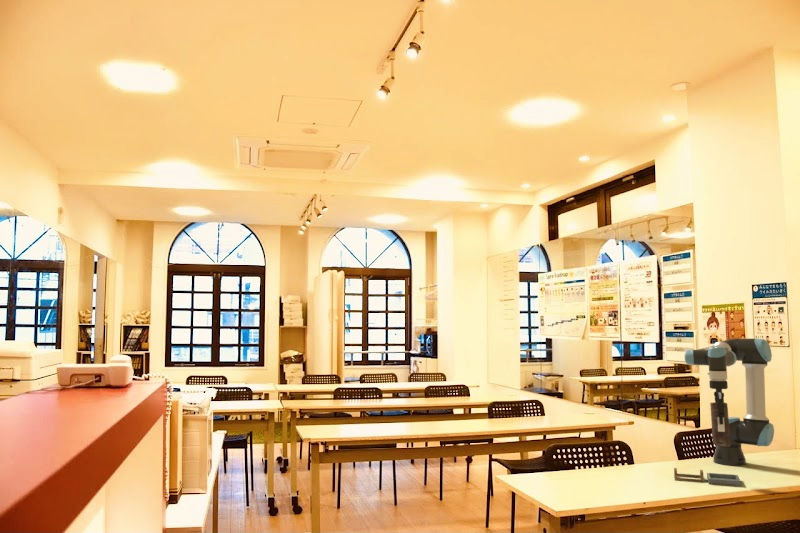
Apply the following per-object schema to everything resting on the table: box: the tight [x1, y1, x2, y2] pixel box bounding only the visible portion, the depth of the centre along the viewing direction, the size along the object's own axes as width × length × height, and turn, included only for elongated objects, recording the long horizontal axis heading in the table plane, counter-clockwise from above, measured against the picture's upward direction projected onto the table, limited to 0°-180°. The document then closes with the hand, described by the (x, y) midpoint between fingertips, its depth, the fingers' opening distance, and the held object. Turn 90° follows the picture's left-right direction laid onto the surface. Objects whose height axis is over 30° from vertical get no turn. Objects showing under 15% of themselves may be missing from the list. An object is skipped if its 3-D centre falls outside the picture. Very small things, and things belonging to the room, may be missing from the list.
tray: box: [706, 472, 742, 487], centre depth 294 cm, size 13×13×2 cm
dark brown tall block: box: [709, 401, 731, 447], centre depth 297 cm, size 8×7×20 cm
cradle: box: [673, 467, 705, 483], centre depth 301 cm, size 10×12×4 cm
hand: (720, 430), depth 296 cm, fingers closed on dark brown tall block, 7 cm apart
